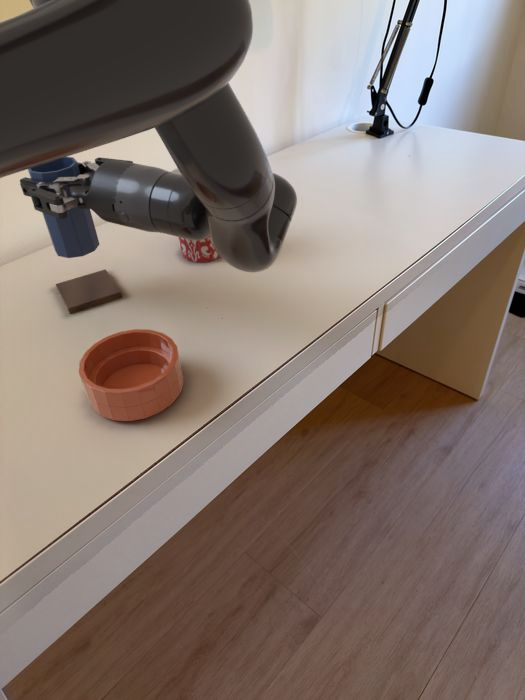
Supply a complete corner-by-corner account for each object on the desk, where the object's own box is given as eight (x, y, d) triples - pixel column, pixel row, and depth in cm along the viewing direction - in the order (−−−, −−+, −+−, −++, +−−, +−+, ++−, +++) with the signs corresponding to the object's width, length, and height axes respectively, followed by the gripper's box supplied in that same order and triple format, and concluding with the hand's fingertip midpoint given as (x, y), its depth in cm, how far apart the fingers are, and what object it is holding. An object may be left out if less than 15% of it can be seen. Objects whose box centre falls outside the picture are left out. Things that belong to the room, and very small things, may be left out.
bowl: (105, 439, 58) (94, 406, 54) (79, 380, 65) (68, 349, 62) (199, 400, 62) (193, 368, 58) (163, 349, 69) (157, 318, 66)
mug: (241, 252, 89) (235, 173, 80) (196, 271, 85) (184, 190, 76) (199, 228, 97) (189, 154, 88) (156, 244, 92) (142, 168, 84)
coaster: (69, 314, 77) (67, 308, 76) (57, 289, 82) (55, 283, 82) (122, 297, 80) (121, 291, 79) (106, 274, 85) (105, 269, 84)
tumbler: (61, 262, 73) (33, 176, 65) (51, 244, 77) (24, 162, 69) (103, 250, 75) (81, 166, 67) (91, 233, 79) (69, 152, 72)
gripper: (171, 147, 66) (75, 132, 73) (88, 188, 56) (-12, 167, 63) (180, 203, 71) (89, 184, 78) (105, 251, 61) (10, 224, 68)
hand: (44, 177), depth 71 cm, fingers closed on tumbler, 6 cm apart
